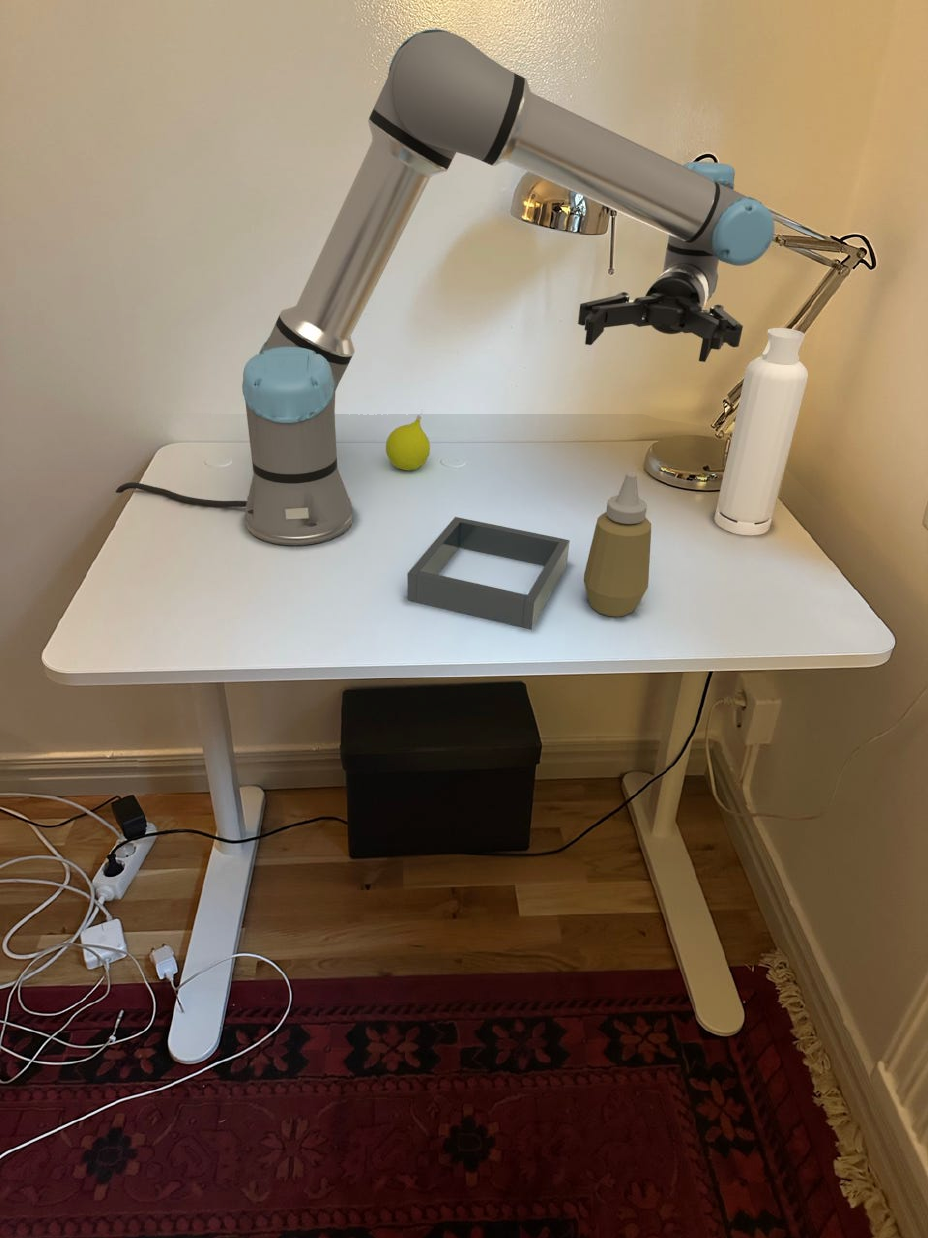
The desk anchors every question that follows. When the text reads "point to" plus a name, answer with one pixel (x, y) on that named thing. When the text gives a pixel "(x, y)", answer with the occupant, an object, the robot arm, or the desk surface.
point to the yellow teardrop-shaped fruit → (408, 446)
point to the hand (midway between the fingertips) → (645, 341)
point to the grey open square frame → (479, 597)
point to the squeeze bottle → (619, 554)
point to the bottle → (762, 434)
